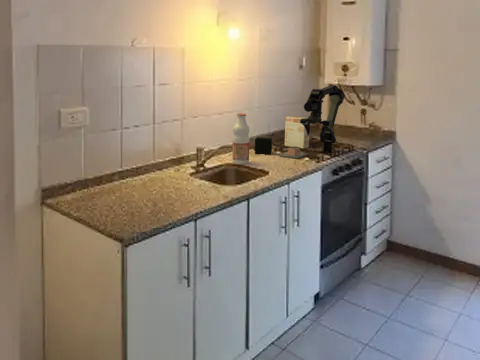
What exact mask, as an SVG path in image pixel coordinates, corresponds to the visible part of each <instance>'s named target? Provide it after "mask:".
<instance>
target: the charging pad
mask: <svg viewBox="0 0 480 360" xmlns="http://www.w3.org/2000/svg"><path fill="white" fill-rule="evenodd" d="M308 155H309V153H307V152H301V151H300V154H298V155H295V156H293V155H288V151H287V152H284V153H282V154H279V156H278V157H279V158H287V159H292V160H293V159H294V160H298V159H301V158H305V157H306V156H308Z"/></svg>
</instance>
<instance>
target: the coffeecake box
mask: <svg viewBox="0 0 480 360" xmlns="http://www.w3.org/2000/svg"><path fill="white" fill-rule="evenodd" d="M303 118H305V117H303V116H294V115H289V116H285V123H284V124H285V126H284V128H285V131H284V147H289V148H290V147H293V146H295V147H300V149H307V148H310V135H309V136H308V135H307V131H306V128H305V126H304V125H302V124H301V123H300V120H301V119H303Z"/></svg>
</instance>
